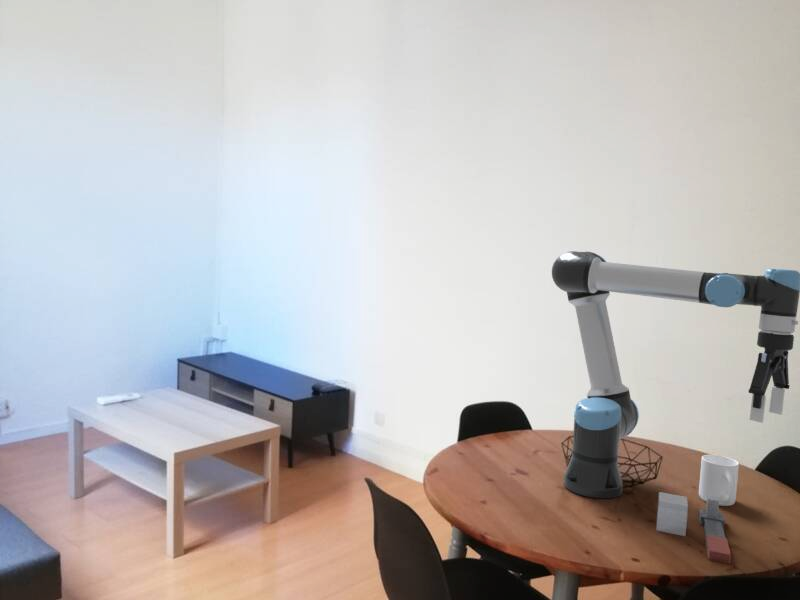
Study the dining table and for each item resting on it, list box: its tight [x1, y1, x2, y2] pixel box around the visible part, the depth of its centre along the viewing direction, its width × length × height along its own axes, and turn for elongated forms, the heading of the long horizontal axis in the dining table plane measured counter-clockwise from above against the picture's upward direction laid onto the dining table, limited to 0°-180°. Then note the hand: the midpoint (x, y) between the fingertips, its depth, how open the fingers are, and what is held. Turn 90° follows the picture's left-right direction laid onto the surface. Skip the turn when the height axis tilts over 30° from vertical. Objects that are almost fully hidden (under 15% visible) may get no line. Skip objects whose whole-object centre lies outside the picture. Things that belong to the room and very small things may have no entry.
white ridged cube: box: [656, 491, 689, 537], centre depth 142 cm, size 6×6×7 cm
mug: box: [698, 454, 740, 507], centre depth 158 cm, size 9×12×11 cm
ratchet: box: [698, 496, 732, 565], centre depth 137 cm, size 23×5×6 cm, turn 157°
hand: (766, 417), depth 152 cm, fingers open, 13 cm apart
